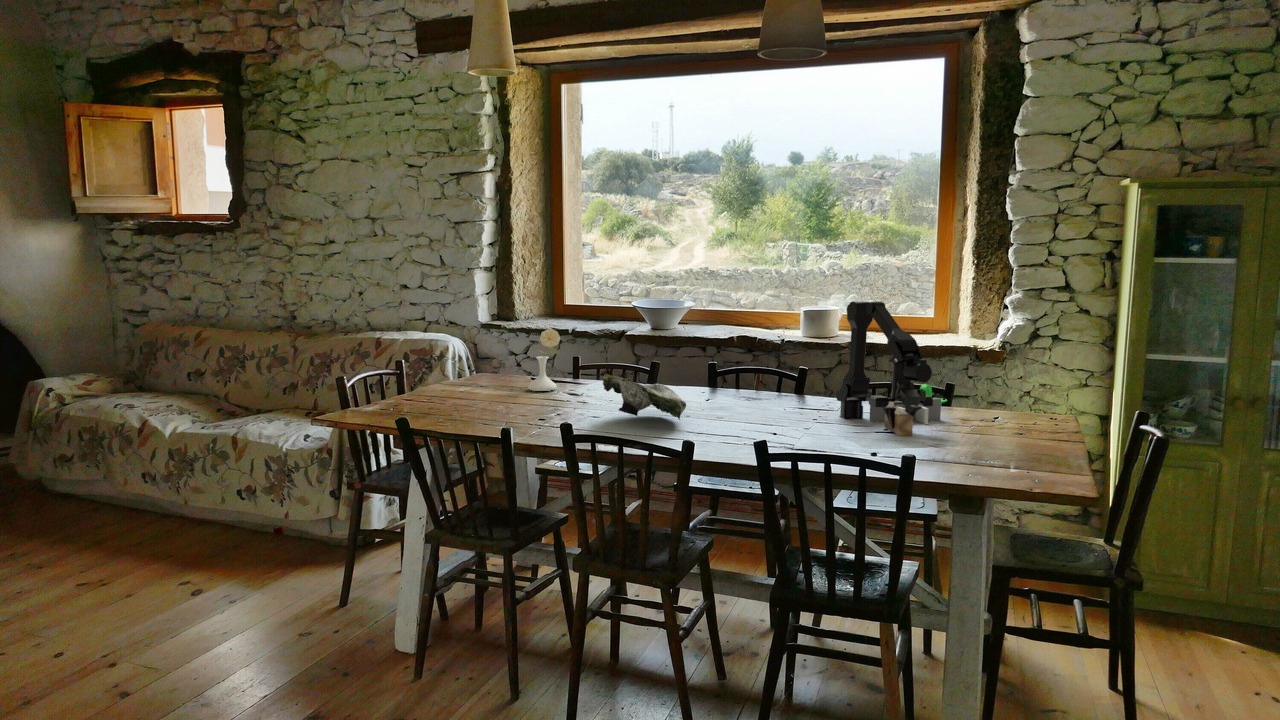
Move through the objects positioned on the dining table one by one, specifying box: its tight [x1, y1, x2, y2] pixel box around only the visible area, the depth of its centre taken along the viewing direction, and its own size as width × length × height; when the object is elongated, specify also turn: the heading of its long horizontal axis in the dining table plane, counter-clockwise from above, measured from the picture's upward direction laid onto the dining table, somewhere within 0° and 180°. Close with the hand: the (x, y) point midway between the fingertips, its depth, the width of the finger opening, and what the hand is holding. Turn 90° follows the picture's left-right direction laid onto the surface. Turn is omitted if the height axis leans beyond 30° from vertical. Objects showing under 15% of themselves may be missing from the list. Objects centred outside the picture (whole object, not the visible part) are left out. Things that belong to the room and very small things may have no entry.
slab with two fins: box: [869, 397, 942, 425], centre depth 284 cm, size 24×8×7 cm, turn 99°
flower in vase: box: [527, 328, 561, 392], centre depth 342 cm, size 13×11×25 cm
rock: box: [602, 373, 687, 421], centre depth 286 cm, size 29×30×15 cm
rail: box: [884, 407, 914, 437], centre depth 269 cm, size 4×16×6 cm, turn 179°
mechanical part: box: [919, 383, 948, 404], centre depth 318 cm, size 12×6×8 cm, turn 134°
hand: (899, 428), depth 267 cm, fingers closed on rail, 4 cm apart
